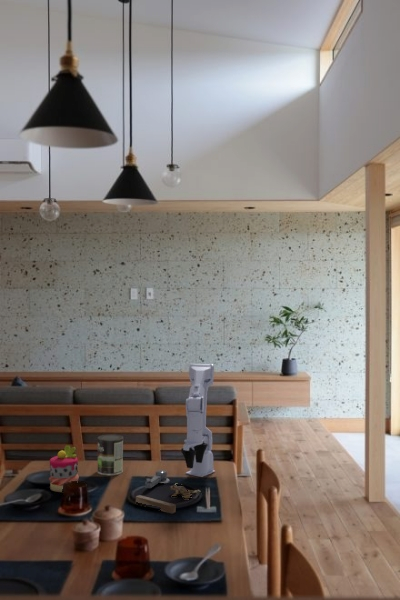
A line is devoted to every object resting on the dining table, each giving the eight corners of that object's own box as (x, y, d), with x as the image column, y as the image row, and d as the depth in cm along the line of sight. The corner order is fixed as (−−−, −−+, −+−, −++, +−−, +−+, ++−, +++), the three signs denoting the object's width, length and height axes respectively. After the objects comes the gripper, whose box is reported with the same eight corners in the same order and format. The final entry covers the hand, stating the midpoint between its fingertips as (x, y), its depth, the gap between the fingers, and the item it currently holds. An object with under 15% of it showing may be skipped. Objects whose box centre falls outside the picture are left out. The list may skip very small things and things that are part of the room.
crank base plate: (159, 477, 259) (159, 476, 259) (172, 480, 256) (172, 479, 256) (149, 481, 254) (149, 480, 254) (162, 484, 251) (162, 483, 251)
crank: (158, 476, 258) (158, 466, 258) (168, 478, 256) (168, 467, 256) (142, 487, 245) (142, 476, 244) (153, 489, 243) (153, 478, 243)
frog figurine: (164, 500, 234) (164, 489, 234) (173, 489, 246) (173, 479, 246) (195, 503, 232) (195, 492, 232) (203, 492, 243) (203, 482, 243)
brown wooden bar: (139, 502, 231) (139, 495, 231) (175, 512, 222) (175, 504, 222) (135, 503, 229) (135, 496, 229) (171, 513, 220) (171, 506, 220)
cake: (71, 493, 240) (71, 452, 240) (44, 491, 242) (44, 450, 242) (82, 484, 250) (82, 445, 250) (56, 482, 253) (56, 443, 252)
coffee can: (101, 476, 260) (101, 441, 259) (94, 469, 269) (94, 435, 269) (126, 473, 264) (126, 438, 264) (118, 467, 273) (118, 433, 273)
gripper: (194, 424, 254) (193, 458, 255) (176, 432, 242) (175, 468, 242) (210, 426, 251) (210, 461, 252) (193, 434, 238) (192, 471, 239)
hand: (194, 465), depth 247 cm, fingers open, 7 cm apart
